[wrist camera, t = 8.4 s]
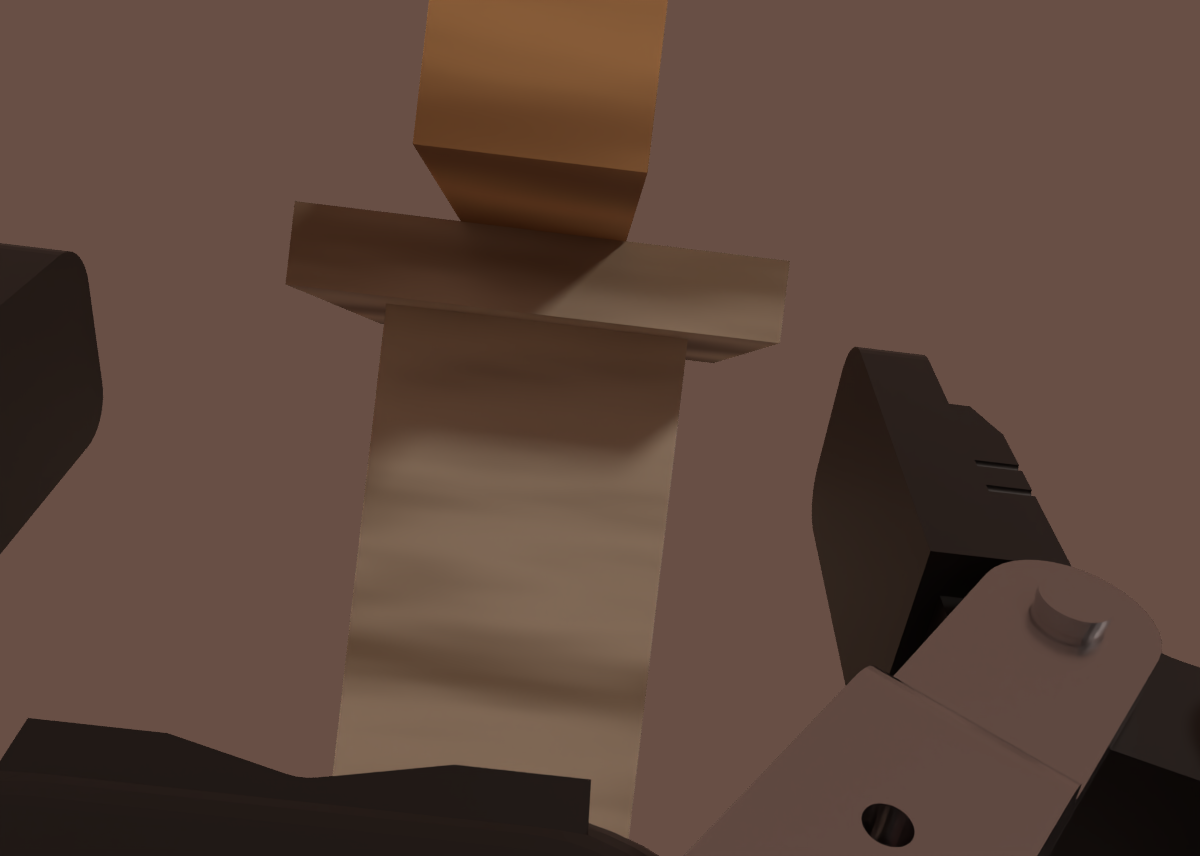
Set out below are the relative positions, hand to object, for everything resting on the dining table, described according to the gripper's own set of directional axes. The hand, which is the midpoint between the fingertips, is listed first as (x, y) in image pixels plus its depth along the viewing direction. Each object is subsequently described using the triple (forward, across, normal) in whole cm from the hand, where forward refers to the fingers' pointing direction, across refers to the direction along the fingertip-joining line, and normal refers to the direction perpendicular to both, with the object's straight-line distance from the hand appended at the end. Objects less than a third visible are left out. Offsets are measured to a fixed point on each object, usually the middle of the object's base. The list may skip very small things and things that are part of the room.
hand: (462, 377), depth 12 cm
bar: (+17, 0, +5) cm, 18 cm away
